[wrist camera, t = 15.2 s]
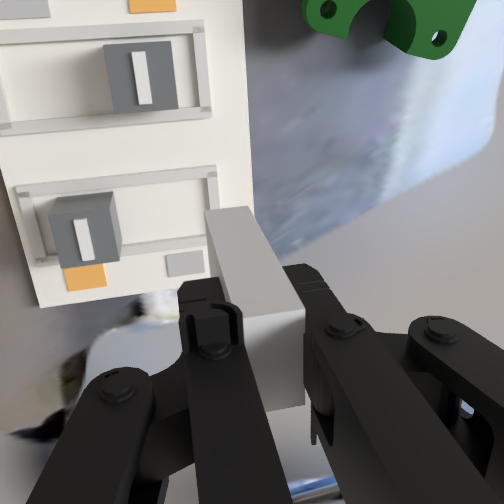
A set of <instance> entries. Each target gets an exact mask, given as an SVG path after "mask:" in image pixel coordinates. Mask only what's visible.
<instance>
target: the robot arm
mask: <svg viewBox="0 0 504 504" xmlns="http://www.w3.org/2000/svg"><path fill="white" fill-rule="evenodd" d="M204 218H205V228H206V238H207V248H208V258H209V268H210V278H204V279H197V280H190V281H184V282H183V283H182V285H181V286H180V288H179V290H178V291H177V295H178V304H179V313H180V318H179V329H180V336H181V343H182V353H181V355H180V357H179V359H178V360H177V361H176V362H175V363H174V364H173V365H171V366H170V367H169V368H167V369H165V370H163V371H161V372H159V373H157V374H154V375H152V376H149V375H148V373H146V372H144V371H143V370H141V369H139V368H133V367H122V368H115V369H112V370H110V371H107V372H104V373H102V374H100V375H99V376H97V377H96V378H95V379H93V380H92V381H91V382H90V383H89V384H88V385H87V387H86V388H85V389H84V391H83V393H82V395H81V397H80V399H79V401H78V403H77V405H76V407H75V409H74V411H73V412H72V414H71V416H70V418H69V420H68V422H67V424H66V426H65V428H64V430H63V432H62V434H61V436H60V438H59V440H58V442H57V444H56V446H55V448H54V449H53V451H52V453H51V455H50V457H49V459H48V461H47V463H46V465H45V467H44V469H43V471H42V473H41V475H40V477H39V479H38V481H37V483H36V485H35V487H34V489H33V490H32V492H31V494H30V496H29V499H28V500H27V502H26V504H164V501H165V497H166V492H167V488H168V483H169V475H172V474H173V473H175V472H177V471H179V470H181V469H183V468H185V467H187V466H189V465H191V464H193V463H195V469H196V477H197V487H198V497H199V504H293V501H292V498H291V495H290V491H289V488H288V485H287V481H286V478H285V475H284V472H283V468H282V465H281V462H280V459H279V455H278V452H277V449H276V446H275V442H274V439H273V436H272V432H271V429H270V426H269V423H268V419H267V416H266V413H265V412H269V411H274V410H279V409H285V408H290V407H295V406H301V405H305V388H306V391H307V393H308V395H309V398H310V400H311V443H312V445H316V437H317V436H316V435H318V437H319V439H320V442H321V444H322V447H323V449H324V452H325V454H326V457H327V459H328V461H329V464H330V466H331V469H332V471H333V474H334V476H335V479H336V481H337V483H338V486H339V488H340V491H341V493H342V496H343V498H344V501H345V503H346V504H504V350H503V349H501V348H499V347H498V346H497V345H495V344H493V343H492V342H490V341H489V340H487V339H486V338H484V337H483V336H481V335H479V334H478V333H476V332H475V331H473V330H472V329H470V328H469V327H467V326H465V325H464V324H462V323H460V322H458V321H456V320H454V319H450V318H446V317H442V316H425V317H420V318H418V319H416V320H414V321H413V322H411V324H410V326H409V329H408V334H395V333H381V332H376V331H374V329H373V328H372V327H371V325H370V324H369V323H368V322H367V321H365V320H364V319H363V318H361V317H359V316H356V315H354V314H350V313H347V312H346V311H345V309H344V308H343V306H342V305H341V304H340V302H339V301H338V299H337V298H336V296H335V295H334V294H333V292H332V291H331V290H330V289H329V286H328V285H327V283H326V282H324V279H323V278H322V276H321V275H320V273H319V272H318V271H317V270H316V269H314V268H312V267H311V266H309V265H307V264H296V265H289V266H281V264H280V263H279V261H278V259H277V257H276V255H275V254H274V252H273V250H272V248H271V246H270V245H269V243H268V241H267V239H266V237H265V236H264V234H263V232H262V230H261V228H260V227H259V225H258V223H257V221H256V219H255V218H254V216H253V214H252V212H251V210H250V209H249V207H248V206H239V207H230V208H222V209H213V210H204ZM462 400H463V401H465V402H466V403H467V404H468V405H470V406H471V407H472V408H473V409H474V413H473V415H472V414H469V413H468V412H466V411H465V410H464V409H462V408H461V404H462Z"/></svg>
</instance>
